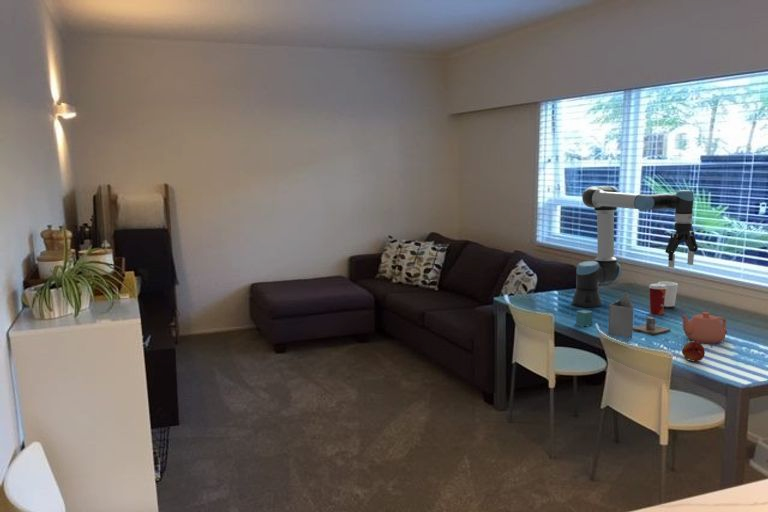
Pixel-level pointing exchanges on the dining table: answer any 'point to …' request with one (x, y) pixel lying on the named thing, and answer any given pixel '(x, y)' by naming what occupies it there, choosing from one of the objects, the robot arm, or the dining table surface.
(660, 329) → the post block
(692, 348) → the fruit
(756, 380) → the dining table surface
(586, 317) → the cap
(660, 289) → the coffee cup
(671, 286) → the cup
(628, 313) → the planter
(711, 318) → the teapot
